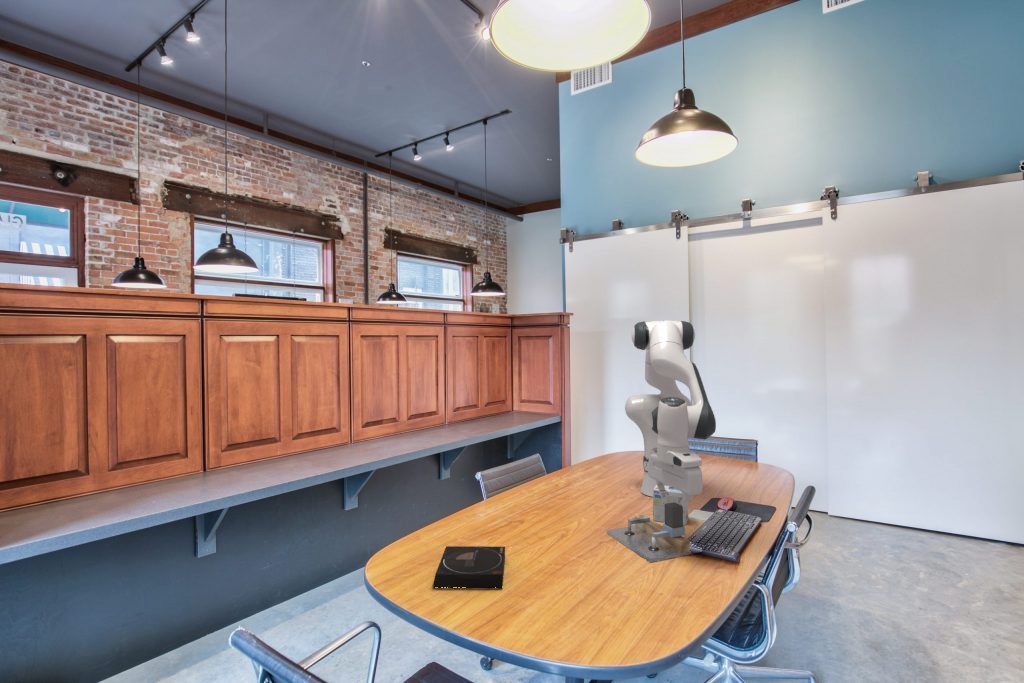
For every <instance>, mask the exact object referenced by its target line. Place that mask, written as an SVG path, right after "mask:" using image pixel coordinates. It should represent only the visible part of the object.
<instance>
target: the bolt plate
mask: <svg viewBox="0 0 1024 683" xmlns="http://www.w3.org/2000/svg"><path fill="white" fill-rule="evenodd" d="M606 534H607V535H609V536H610V537H612V538H613V539H614V540H616V541H617V542H619V543H620V544H622V545H623V546H625V547H626V548H627V549H629V550H630V551H632V552H634V553H635V554H636V555H638V556H640V558H642V559H644V560H645V559H646V560H645V561H647V562H648V561H649V562H648V563H654V562H653V561H655V562H659V561H658V560H660V561H664V560H663V559H665V560H669V559H668V558H671V559H674V558H673V557H676V558H679V557H678V556H681V557H683V556H682V555H686V556H690V555H689V554H691V551H688V552H683V553H681V552H679V551H677V550H676V549H674V548H672V547H671V546H669V545H667V544H665V543H664V542H662V541H660V540H659V539H657V538H656V548H655V549H653V548H652V535H650V534H649V533H647V532H645V531H644V530H642V529H640V528H639V527H637V526H635V525H631V534H629V533H628V526H622V527H618V528H612V529H611V528H610V529H607V530H606ZM691 555H692V554H691Z"/></svg>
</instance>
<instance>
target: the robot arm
mask: <svg viewBox="0 0 1024 683" xmlns="http://www.w3.org/2000/svg"><path fill="white" fill-rule="evenodd" d="M695 338H696V332H695V329H694V326H693V324H692V323H691V322H689V321H685V320H681V321H679V320H668V319H665V320H652V321H639V322H637V323H635V324H634V326H633V328H632V331H631V341H632V343H633V346H634V347H635V349H637V350H641V351H645V359H644V360H645V361H644V362H645V363H644V379H645V382H646V383H647V384H648V385H649V386H651V387H653V388H655V389H657V390H659V391H660V393H658V394H656V393H655V394H646V393H645V394H642V393H641V394H634V395H632V396H631V395H630V397H628V398H627V400H626V401H625V404H624V411H625V414H626V416H627V417H628V419H630V420H631V421H632V422H633V423H634V424H635V425H636V426H637V428H638V429H639V430H640V432H641V434H642V438H643V447H644V448H643V449H644V450H643V451H644V455H643V458H642V460H643V461H642V465H643V477H642V483H641V488H640V490H639V491H640V493H641V494H643V495H645V496H649V497H651V498H653V489H654V488H655V486H656V485H657V487H658V489H659V495H660V496H662V497H666V496H667V491H666V490H665V487H664V486H670V487H673V488H675V489H677V490H679V491H682V495H683V499H682V500H680V506H682V507H684V508H685V507H688V508H689V501H690V500H691V497H692V496H698V495H701V494H702V492H703V486H704V485H703V481H704V480H703V471H702V469H701V467H702V465H703V459H702V458H701V457H700V456H699V455H697V454H696V453H695V452H694V451H693V450H692V449H691V448H690V441H689V439H691V438H692V439H697V440H698V439H699V440H704V441H705V440H707V439H710V437H711V436H712V435H713V434H714V433H716V429H717V419H716V415H715V414H714V411H713V409H712V406H711V403H710V401H709V399H708V395H707V392H706V390H705V387H704V384H703V381H702V377H701V375H700V372H699V369H698V367H697V365H696V363H694V362H693V361H691V360H689V358H688V357H687V356H686V354H685V350H689V349H690V348H691V347H693V345H694V341H695V340H696V339H695ZM676 381H677V382H679V383H682V384H684V385H685V386H686V387H687V388H688V390H689V393H690V396H691V399H692V401H691V400H690V399H689V397H688V396H686V395H685V394H684V393H682V391H681V390H680V389H679V387H678V385H677V382H676ZM692 403H693V404H692ZM688 438H689V439H688ZM700 466H701V467H700Z"/></svg>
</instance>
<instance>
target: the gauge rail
mask: <svg viewBox="0 0 1024 683" xmlns="http://www.w3.org/2000/svg"><path fill="white" fill-rule="evenodd" d="M633 525H634V526H637V527H639V528H640V529H642V530H644V531H645V532H647V533H649V534H650V535H652V533H655V532H661V531H663V524H661V523H659V522H658V521H653V519H651V518H650V516H648V515H647V516H646V515H644V514H641V515H635V516H634V517H632V518H628V519H627V527H628V533H629V534H631V526H633ZM657 539H659V540H660V541H662V542H664V543H665V544H667V545H669V546H671V547H672V548H674V549H676V550H677V551H679V552H681V553H683V552H688V551H690V542H691V541H690V540H689V539H688V538H686V537H684V536H678V537H670V536H665V537H660V538H657Z"/></svg>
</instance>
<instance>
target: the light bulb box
mask: <svg viewBox="0 0 1024 683" xmlns="http://www.w3.org/2000/svg"><path fill="white" fill-rule="evenodd" d="M664 487H665V490H666V491H667V496H666V497H662V496H660V495H659V489H658V487H657V485H656V486H655V488H654V489H653V497H652V498H653V499H652V502H653V504H652V507H653V508H652V509H653V510H652V511H653V517H652V518H653V519H652V520H653V521H655V522H659V521H660V522H661V523H665V504H666V503H673V502H675V503H677V504H679V505H680V500H682V499H683V495H682V491H679V490H677V489H675V488H673V487H670V486H664ZM688 521H689V506H688V507H685V508H684V507H683V526H686V525H687V524H688Z"/></svg>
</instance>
